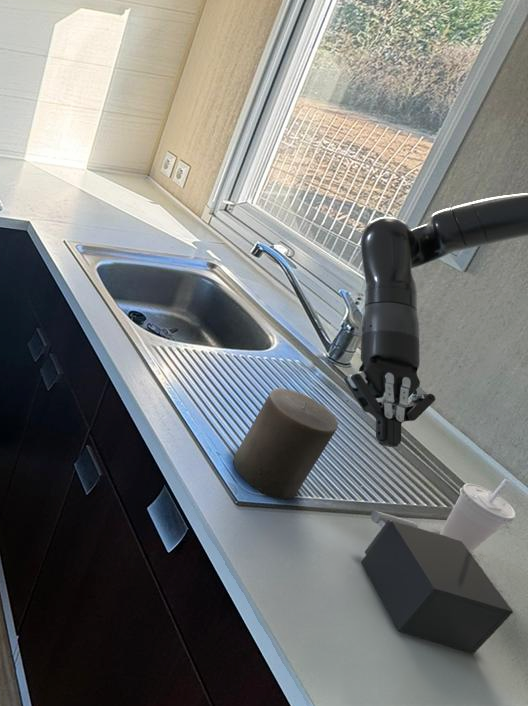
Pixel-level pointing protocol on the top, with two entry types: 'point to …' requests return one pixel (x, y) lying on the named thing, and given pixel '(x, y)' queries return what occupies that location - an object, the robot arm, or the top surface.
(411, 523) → the dark grey angled piece
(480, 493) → the smoothie
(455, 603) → the dark grey box
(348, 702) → the top surface
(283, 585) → the top surface
